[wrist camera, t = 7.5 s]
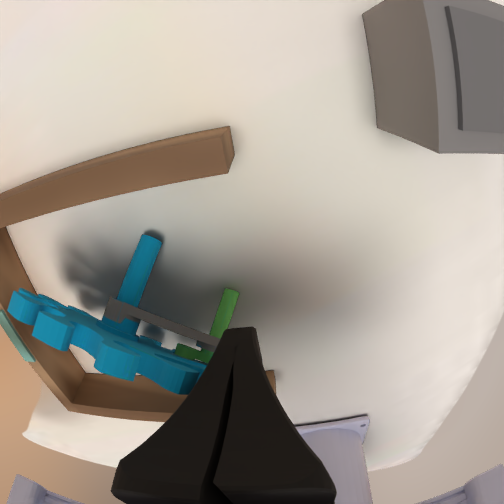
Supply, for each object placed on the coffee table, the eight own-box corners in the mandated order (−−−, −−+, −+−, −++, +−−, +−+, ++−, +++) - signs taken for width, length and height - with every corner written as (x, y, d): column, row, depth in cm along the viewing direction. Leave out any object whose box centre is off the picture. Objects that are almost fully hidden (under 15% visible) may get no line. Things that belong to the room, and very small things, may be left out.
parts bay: (275, 381, 19) (277, 422, 16) (81, 382, 20) (67, 412, 18) (229, 126, 12) (220, 137, 9) (-16, 201, 13) (-50, 224, 10)
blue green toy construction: (33, 311, 15) (-36, 326, 6) (69, 220, 16) (38, 147, 7) (197, 376, 19) (280, 435, 10) (227, 290, 20) (327, 283, 11)
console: (497, 130, 11) (571, 160, 6) (377, 127, 11) (443, 155, 7) (488, 30, 8) (564, 28, 4) (361, 8, 9) (419, -29, 4)
